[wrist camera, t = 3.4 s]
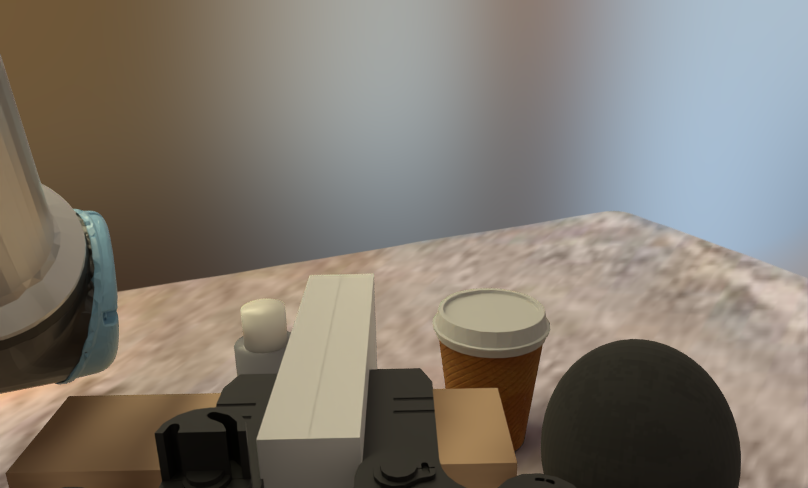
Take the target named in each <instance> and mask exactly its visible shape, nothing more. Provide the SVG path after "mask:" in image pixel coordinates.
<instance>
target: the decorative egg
mask: <svg viewBox="0 0 808 488" xmlns="http://www.w3.org/2000/svg"><path fill="white" fill-rule="evenodd" d="M541 458H542V466H543V471H544V474H545V475H550V476H555V477H558V478H560V479H563V480H565V481H567V482H569V483H571V484H573V485H574V486H575V487H576V488H738V486H739V480H740V470H741V451H740V441H739V436H738V432H737V427H736V423H735V420H734V417H733V414H732V412H731V410H730V407H729V405H728V403H727V401H726V399H725V397H724V395H723V394H722V392H721V390H720V389H719V387H718V386H717V384H716V383H715V382H714V380H713V379H712V378H711V377H710V376H709V374H708V373H707V372H706V371H705V370H704V369H703V368H702V367H701V366H700V365H698V364H697V363H696V362H695V361H694V360H692V359H691V358H690V357H688V356H687V355H685V354H684V353H682V352H680V351H678V350H677V349H674V348H672V347H670V346H667V345H665V344H661V343H658V342H655V341H649V340H640V339H629V340H620V341H615V342H611V343H608V344H605V345H602V346H600V347H598V348H596V349H594V350H592V351H590V352H589V353H587V354H586V355H584V356H583V357H581V358H580V359H579V360H578V361H577V362H575V363H574V364H573V365H572V366H571V367H570V368H569V370H568V371H567V372H566V373H565V374H564V376H563V377H562V378H561V380H560V381H559V383H558V385H557V386H556V388H555V390H554V392H553V394H552V396H551V398H550V401H549V403H548V406H547V409H546V413H545V417H544V421H543V427H542V435H541Z"/></svg>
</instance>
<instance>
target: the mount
mask: <svg viewBox="0 0 808 488" xmlns="http://www.w3.org/2000/svg"><path fill="white" fill-rule="evenodd" d="M220 395H221V393H213V394H162V395H111V396H69V397H68V398H67V399H66V401H65V402H64V403H63V404H62V405H61V407H60V408H59V409H58V410H57V411H56V413H55V414H54V415H53V416H52V418H51V419H50V420H49V421H48V422H47V424H46V425H45V426H44V427H43V428H42V430H41V431H40V432H39V433H38V435H37V436H36V437H35V438H34V439H33V441H32V442H31V443H30V444H29V445H28V447H27V448H26V449H25V450H24V451H23V453H22V454H21V455H20V456H19V458H18V459H17V460H16V461H15V462H14V464H13V465H12V466H11V467H10V468H9V470H8V471H7V472H6V477H7V481H8V485H9V488H62V487H84V488H159V486H160V484H161V482H162V478H161V472H160V466H159V459H158V453H157V447H156V440H155V434H154V433H155V432H156V431H157V430H158V429H159V428H160V426H161V425H162V424H163V423H165V422H166V421H168V420H170V419H171V418H173V417H175V416H177V415H179V414H182V413H185V412H188V411H191V410H194V409H202V408H210V407H213V408H215V407H216V403H217V401H218V399H219V397H220ZM433 398H434V408H435V419H436V429H437V440H438V450H439V460H440V464H441V467H442V469H443V470H444V472H445V473H446V474H447V476H449V477H450V478H451V479H452V480H454V481H455V482H456V483H458V484H460V485H462V486H464V487H466V488H498V487H499V486H500V485H501V484H502V483H504V482H505V481H506V480H507V479H510V478H513V477H516V476H517V460H516V456H515V452H514V449H513V445H512V441H511V437H510V433H509V429H508V426H507V422H506V418H505V414H504V410H503V407H502V403H501V399H500V395H499V391H498V388H466V389H433Z"/></svg>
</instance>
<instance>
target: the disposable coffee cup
mask: <svg viewBox="0 0 808 488" xmlns="http://www.w3.org/2000/svg"><path fill="white" fill-rule="evenodd" d="M433 329H434V330H435V332H436V335H437V337H438V339H439V342H440V350H441V357H442V365H443V372H444V379H445V388H446V389H466V388H498V391H499V395H500V399H501V403H502V407H503V410H504V414H505V418H506V422H507V426H508V429H509V433H510V437H511V441H512V445H513V449H514V451H516V450H517V449H518V448H520V447H521V445H522V444H523V442H524V439H525V433H526V427H527V422H528V417H529V412H530V407H531V402H532V397H533V391H534V386H535V382H536V376H537V371H538V366H539V361H540V356H541V351H542V345H543V343H544V342H545V339H546V337H547V336H548V334H549V332H550V323H549V320H548V319H547V318H546V314H545V310H544V307H543V306H542V304H541V303H539V302H538V301H537V300H536V299H534V298H532V297H530V296H528V295H525V294H522V293H520V292H515V291H511V290H505V289H495V288H480V289H470V290H465V291H460V292H457V293H454V294H452V295H450V296H448V297H447V298H445V299H444V300H443V301H441V303H440V305H439V308H438V313H436V315H435V316H434V318H433Z"/></svg>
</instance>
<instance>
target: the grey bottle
mask: <svg viewBox="0 0 808 488" xmlns="http://www.w3.org/2000/svg"><path fill="white" fill-rule="evenodd" d="M241 319H242V329H243V336H242V337H241V338H239V339H238V340H237V341H236V343H235V345H234V350H235V359H236V369H237V377H238V376H239V375H240V374H276V373H278V371H279V368H280V365H281V362H282V359H283V356H284V353H285V350H286V347H287V344H288V341H289V338H290V335H291V332H288V331H287V324H286V312H285V304H284V303H283V302H282V301H280V300H277V299H258V300H254V301H250V302H248V303H246V304H244V305H243V306H242V307H241Z"/></svg>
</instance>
